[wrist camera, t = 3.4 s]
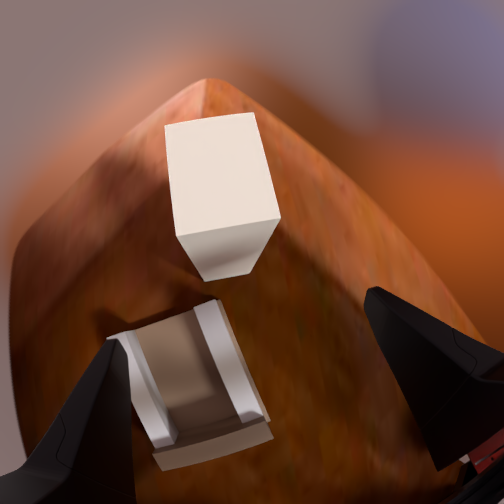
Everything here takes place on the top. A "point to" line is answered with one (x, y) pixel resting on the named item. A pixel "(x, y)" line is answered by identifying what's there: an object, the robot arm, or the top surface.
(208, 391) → the sill track
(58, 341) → the top surface
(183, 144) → the white rectangular block
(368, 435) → the top surface
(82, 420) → the robot arm
